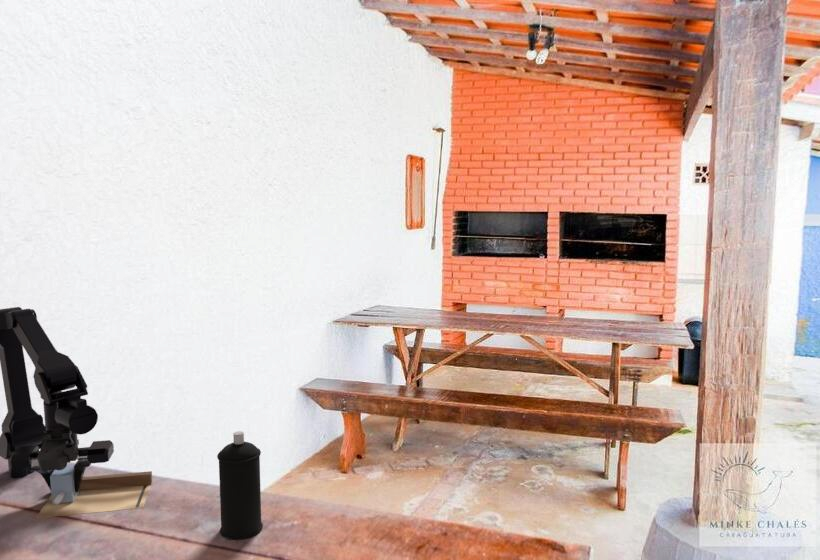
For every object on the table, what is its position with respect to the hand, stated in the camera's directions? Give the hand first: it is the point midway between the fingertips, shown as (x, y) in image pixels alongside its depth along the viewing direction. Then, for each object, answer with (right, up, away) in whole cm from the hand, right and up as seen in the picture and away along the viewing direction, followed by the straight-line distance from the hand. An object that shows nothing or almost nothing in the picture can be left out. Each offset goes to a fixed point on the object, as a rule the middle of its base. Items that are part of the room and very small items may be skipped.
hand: (65, 492), depth 137 cm
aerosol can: (+40, -5, -9) cm, 41 cm away
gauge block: (0, -1, -2) cm, 2 cm away
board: (+7, -3, 0) cm, 7 cm away
